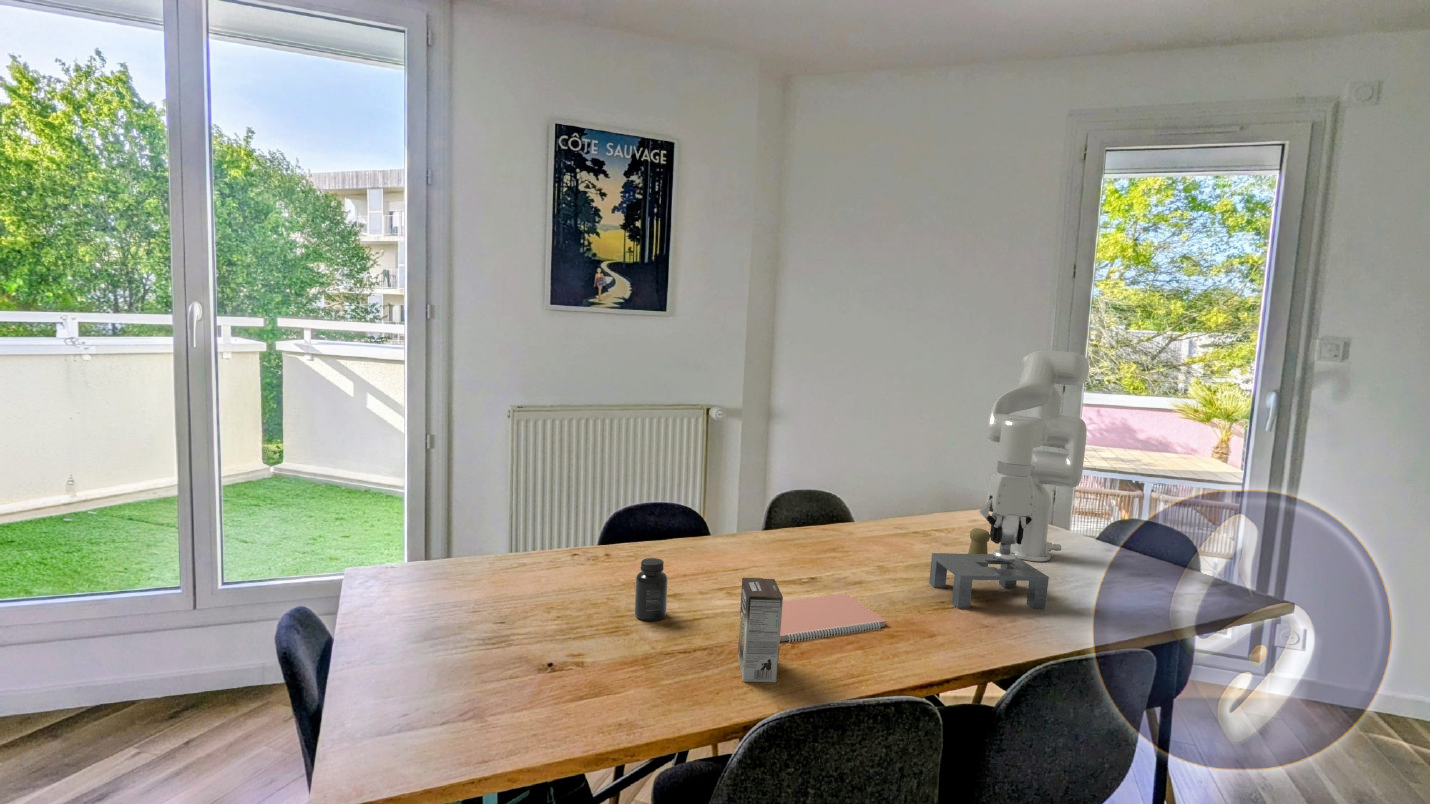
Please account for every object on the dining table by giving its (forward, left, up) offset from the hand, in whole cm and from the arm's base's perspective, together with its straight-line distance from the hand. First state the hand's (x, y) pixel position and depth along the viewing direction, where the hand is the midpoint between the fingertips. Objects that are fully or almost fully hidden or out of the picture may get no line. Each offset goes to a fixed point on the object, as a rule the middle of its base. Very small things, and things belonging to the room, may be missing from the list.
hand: (1005, 541), depth 172 cm
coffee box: (+68, +37, -14) cm, 79 cm away
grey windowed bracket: (+4, 0, -14) cm, 15 cm away
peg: (0, 0, -4) cm, 4 cm away
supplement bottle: (+87, +13, -14) cm, 89 cm away
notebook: (+51, +15, -15) cm, 55 cm away
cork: (-4, -20, -14) cm, 25 cm away
